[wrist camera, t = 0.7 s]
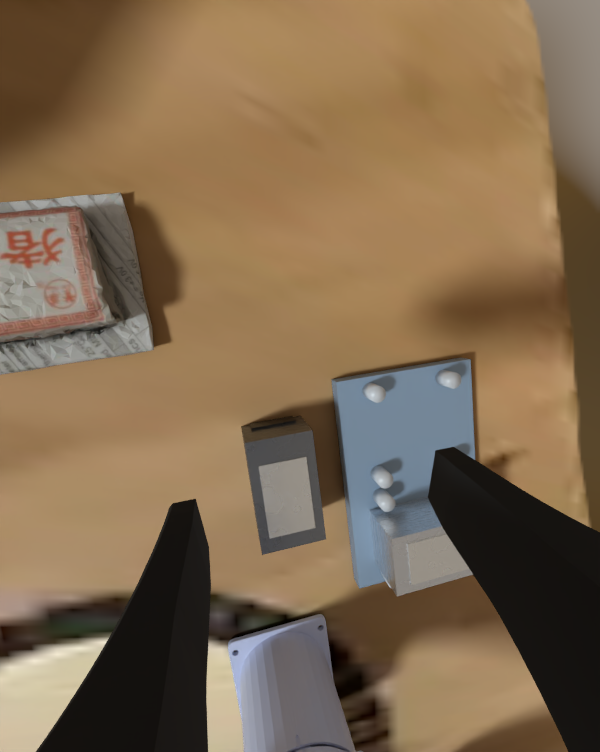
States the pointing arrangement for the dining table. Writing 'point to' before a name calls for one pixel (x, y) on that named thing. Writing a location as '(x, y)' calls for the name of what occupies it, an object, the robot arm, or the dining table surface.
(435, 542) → the seated drive
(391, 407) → the drive tray
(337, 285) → the dining table surface
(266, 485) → the loose drive
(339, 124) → the dining table surface
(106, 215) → the packaged product
